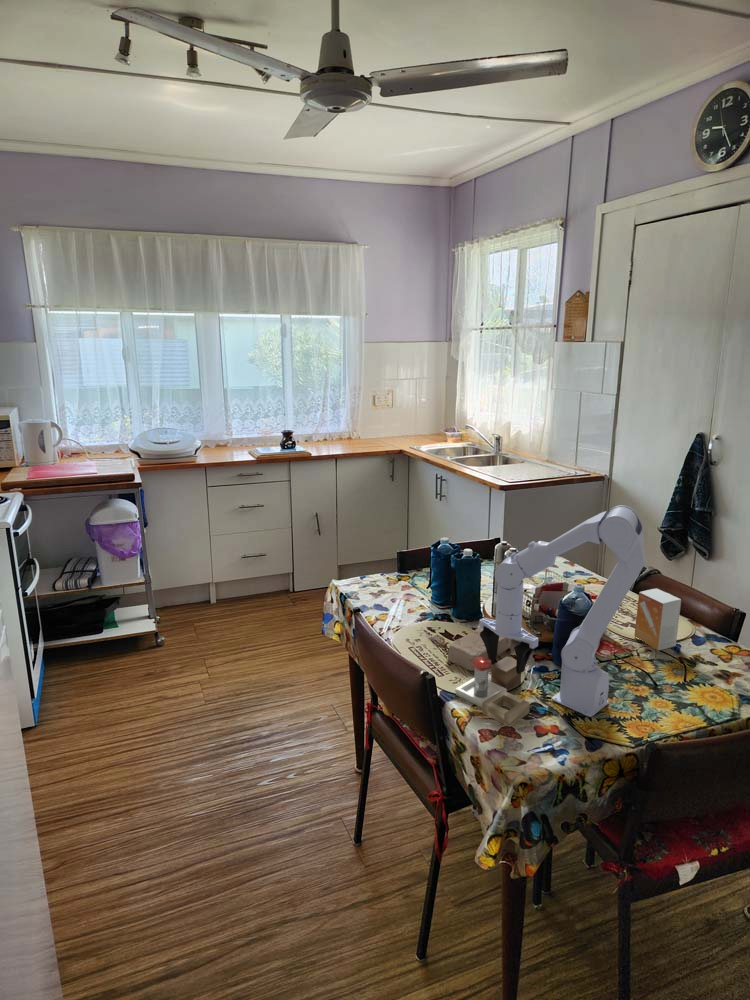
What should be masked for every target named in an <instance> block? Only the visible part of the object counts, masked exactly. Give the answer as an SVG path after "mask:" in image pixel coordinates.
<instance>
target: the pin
mask: <svg viewBox="0 0 750 1000" xmlns="http://www.w3.org/2000/svg"><path fill="white" fill-rule="evenodd" d="M473 667H474V668H475V670H474V675H473V676H474V677H473V678H474V695H475V696H477V697H480V698H483V697H486V696H487V695H488V680H489V671H490V670H489V669H490V668H492V661H491V660H490V659H489V658H486V657H476V658H474V659H473Z"/></svg>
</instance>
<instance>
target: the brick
mask: <svg viewBox="0 0 750 1000" xmlns="http://www.w3.org/2000/svg"><path fill="white" fill-rule="evenodd" d="M482 631H483V629H482V628H480V627H479V626H478V627H477V628H476V629H474V630H473V631H472V632H471V633H468V634H466V635H464V636H462V637H460V638H458V639H456V640H454V641H453V642H452V643H450V644H449V647H448V651H447V654H448V655H447V659H448V661H449V662H451V663H453V664H455V665H458V666H460V667H462V668H464V669H466V670H468V671H474V672H475V668H474V667H473V659H474V658H476V657H486V658H488V654H487V650H486V647H485V644H484V642H483V640H482V638H481V637H480V632H482ZM511 644H512V639H510V638H505V637H501V636H499V641H498V650H497V657H499V655H501V654H503V653H504V652H506V651H507V650H508V649H509V648H511Z"/></svg>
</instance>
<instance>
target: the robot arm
mask: <svg viewBox="0 0 750 1000" xmlns="http://www.w3.org/2000/svg"><path fill="white" fill-rule="evenodd" d="M605 515H606V516H605ZM587 542H590V543H594V544H596V545H600V544H602V543H604V544H605V545H606V546H607V547H608V548H609V549H610V551H612V552H613V555H614V557H615V559H616V561H617V563H615V566H614V568H613V569H612V572H611V573H610V575H609V577H608V578H607V580H606V581H605V583H604V585H603V587H602V588H601V590H600V591H599V594H598V596H597V597H596V599H595V601H593V604H592V606H591V607H590V609H589V610H588V613H587V614H586V616H585V617H584V619H583V620H582V623H581V624H580V625H579V626H577V627H575V628H573V629H572V631H571V632H570V633H569V638H568V640H567V641H566V644H565V645H564V647H562V649H561V652H560V657H561V672H560V673H561V675H560V688H559V692H557V693H556V694H554V695H553V696H552V697H551V701H554V702H555V703H558V704H560V705H562V706H564V707H566V708H568V709H572V710H573V711H576V712H578V713H580V714H583V715H584V716H587V717H588V718H592V717H593V716H595V714H597V713H598V712H599V711H601V710H602V709H603V708H605V706H607V705H608V704H609V703H610V700H608V696H609V686H610V675H609V672H606V671H604V670H603V669H602V668H601V667H599V665H598V661H597V658H596V652H597V651H598V648H599V646H600V641H601V638H602V636H603V634H604V633H605V631H606V629H607V628H608V626H609V624H610V622H611V621H612V619H613V618H614V616H615V614H616V613H617V611H618V610H619V608H620V606H621V604H622V602H623V601H624V599H625V598H626V596H627V594H628V593H629V591H630V589H631V588H632V586H633V584H634V582H635V581H636V580H637V577H638V576H639V574H640V573H641V571H642V569H643V568H644V565H645V563H646V560H647V555H646V547H645V537H644V524H643V523H642V521H641V518H640V516H639V515H638V513H637V512H636V510H635V509H633V507H630V506H628V505H616V506H613V507H612V508H611V509H609V510H608V512H607V510H605V511H602V512H600V513H598V514H596V515H594V516H592V517H590V518H588V519H586V520H584V521H582V522H581V523H580V524H577V525H576V526H575V527H573V528H571V529H570V530H567V531H566V532H565V533H563V534H561V535H560V536H558V537H557V538H555V539H552V540H551V541H549V542H547V541H543V540H539V541H537V542H536V541H534V540H533V541H531V542H529V543H528V544H527V547H526V548H524V549H523V550H520V551H519V552H518V553H516V552H513V553H511V554H510V555H509V556H508V557H506V558H505V559H504V560H503V561H502V562H501V563H500V564H499V565H497V567H496V569H495V571H494V579H495V582H496V583H497V587H496V588H497V590H496V601H495V603H496V604H495V619H491V618H487V617H483V618H480V619H479V622H478V623H479V625H478V628H479V627H480V628H482V629H483V631H482V632H480V637H481V638H482V640H483V642H484V644H485V647H486V650H487V654H488V658H489V659H490V660H491V662H493V661H495V660H497V658H498V656H497V650H498V641H499V636H501V637H505V638H510V639H511V640H513V641H517V642H519V644H516V645H515V646H514V649H513V650H514V653H515V657H516V659H515V660H517V664H516V672H517V673H518V674H520V673H521V674H522V673H524V672H525V671H526V667H527V663H528V661H529V659H530V656H531V655H532V653H533V652H534V650H535V649H536V648H537V647H538V646H539V637H537V636H534V635H533V634H532V633H530V632H529V631H527V630H525V629H524V628H523V627H522V623H523V607H524V606H523V605H524V579H529V578H531V577H533V576H535V575H537V574H539V573H541V572H543V571H545V570H546V569H548V568H550V567H552V566H554V565H555V564H556V560H557V557H558V556H561V555H562V554H564V553H566V552H568V551H570V550H572V549H574V548H576V547H578V546H581V545H582V544H584V543H587Z"/></svg>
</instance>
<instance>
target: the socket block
mask: <svg viewBox="0 0 750 1000" xmlns="http://www.w3.org/2000/svg"><path fill="white" fill-rule="evenodd" d="M530 703H531V702H529V701H527V700H525V699H523V698H520V697H518V696H515V694H512V693H510V692H508V691H507V692H505V691H503V690H501V691H500V692H498V693H497V694H495V695H493V696H492V697H490V698H489V699H487V700H486V701H484V702H482V708H481V714H482V715H485V716H487V717H489V718H491V719H493V720H495V721H497V722H499V723H501V724H503V725H505V726H507V727H508V728H511V727H512V726H513V725H515V724H516V723H517V722H519V721H520V720H521V719H524V718H525V717H526V716H527V715H529V714H530V707H531V706H530ZM502 706H504V707H506V708H508V709H506V708H504V707H502Z"/></svg>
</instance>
